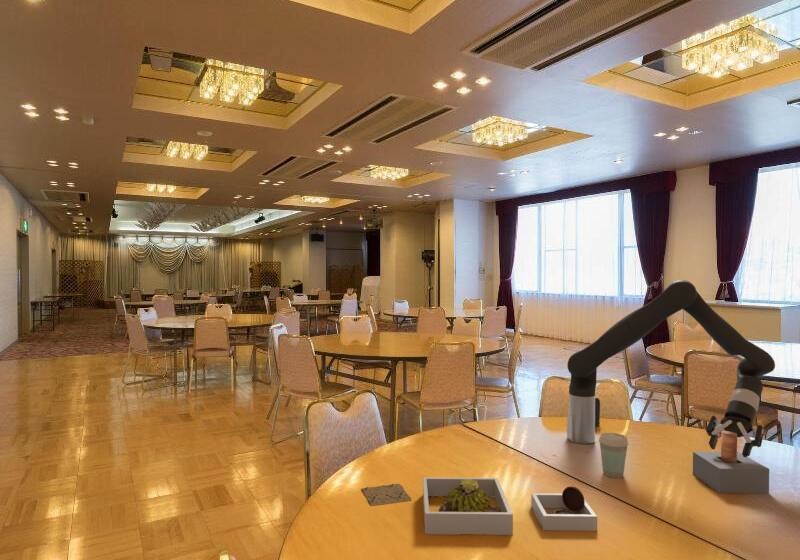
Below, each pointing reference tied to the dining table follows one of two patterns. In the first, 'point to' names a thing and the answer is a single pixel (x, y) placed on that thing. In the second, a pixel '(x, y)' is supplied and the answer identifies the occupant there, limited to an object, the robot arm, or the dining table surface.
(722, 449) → the pin
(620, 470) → the coffee cup
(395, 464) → the dining table surface
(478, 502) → the cactus
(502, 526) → the cactus tray
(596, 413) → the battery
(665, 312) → the robot arm
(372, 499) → the speckled stone tile
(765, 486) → the hole block
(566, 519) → the tray
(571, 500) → the dark brown rounded piece
